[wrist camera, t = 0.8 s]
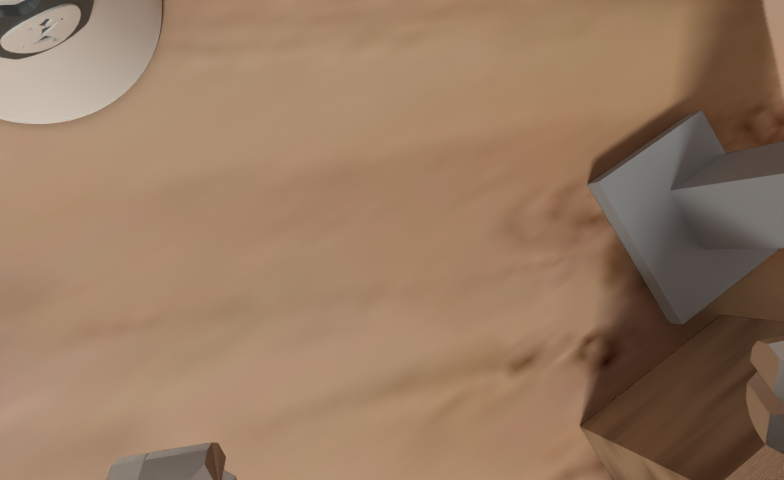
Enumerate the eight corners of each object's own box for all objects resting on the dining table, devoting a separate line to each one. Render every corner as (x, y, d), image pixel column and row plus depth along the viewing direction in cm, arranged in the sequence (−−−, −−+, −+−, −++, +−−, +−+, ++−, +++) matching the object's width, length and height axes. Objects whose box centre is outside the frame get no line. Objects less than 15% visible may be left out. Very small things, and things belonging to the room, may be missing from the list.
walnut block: (579, 426, 48) (732, 500, 33) (721, 314, 51) (918, 337, 36) (642, 527, 49) (817, 642, 34) (777, 412, 52) (992, 472, 37)
